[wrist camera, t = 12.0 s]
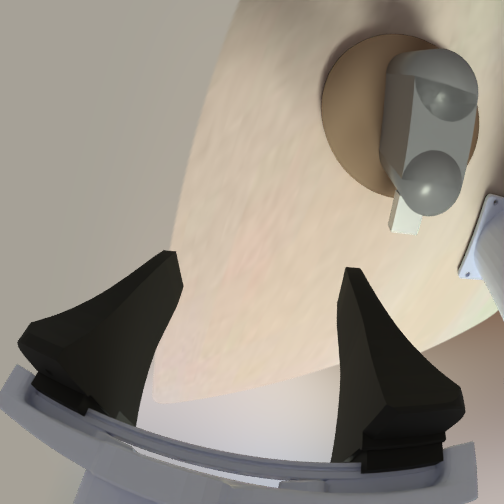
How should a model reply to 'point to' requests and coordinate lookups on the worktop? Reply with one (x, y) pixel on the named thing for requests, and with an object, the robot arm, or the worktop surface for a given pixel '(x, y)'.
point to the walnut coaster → (365, 107)
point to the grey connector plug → (426, 133)
